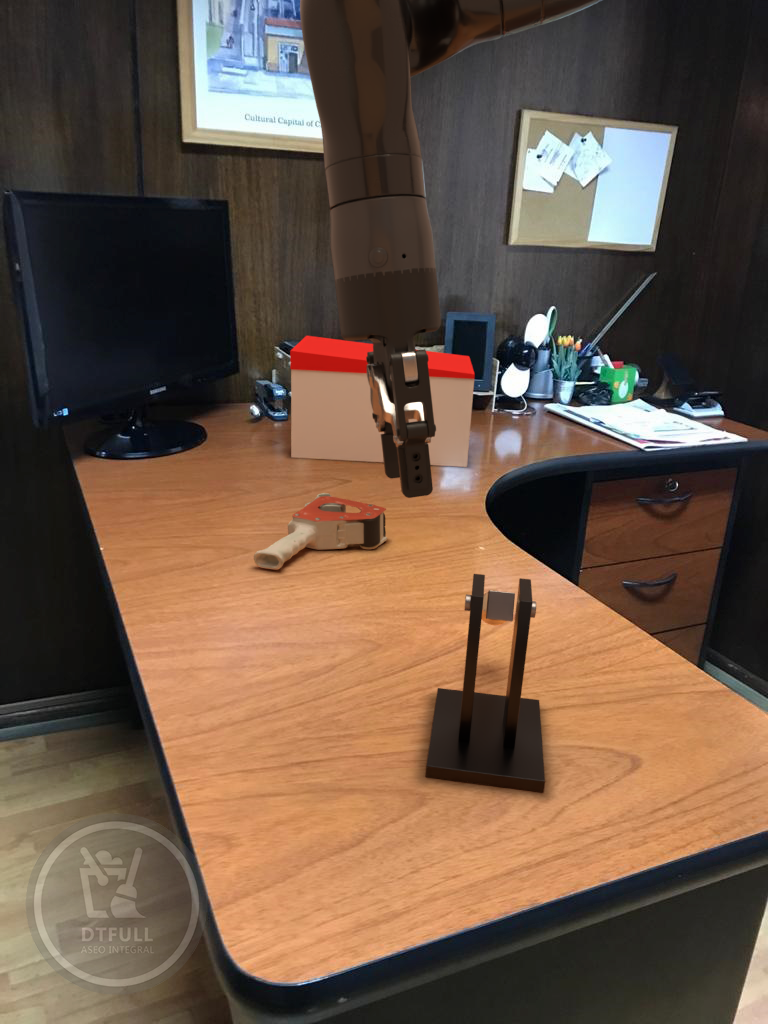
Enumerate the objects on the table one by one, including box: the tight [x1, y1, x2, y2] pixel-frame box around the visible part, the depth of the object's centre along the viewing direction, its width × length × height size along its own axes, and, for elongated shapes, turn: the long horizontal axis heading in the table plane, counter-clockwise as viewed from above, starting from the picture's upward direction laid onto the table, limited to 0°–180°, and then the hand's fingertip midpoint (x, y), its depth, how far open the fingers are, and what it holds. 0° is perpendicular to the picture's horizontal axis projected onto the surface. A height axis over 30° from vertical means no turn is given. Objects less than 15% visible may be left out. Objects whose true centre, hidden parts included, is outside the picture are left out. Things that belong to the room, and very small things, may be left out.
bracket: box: [425, 573, 546, 793], centre depth 68 cm, size 12×10×16 cm
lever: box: [481, 589, 516, 627], centre depth 73 cm, size 17×4×4 cm, turn 171°
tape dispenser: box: [253, 492, 388, 571], centre depth 112 cm, size 18×5×20 cm
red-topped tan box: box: [289, 335, 476, 468], centre depth 158 cm, size 21×35×21 cm, turn 87°
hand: (407, 485), depth 60 cm, fingers open, 8 cm apart
